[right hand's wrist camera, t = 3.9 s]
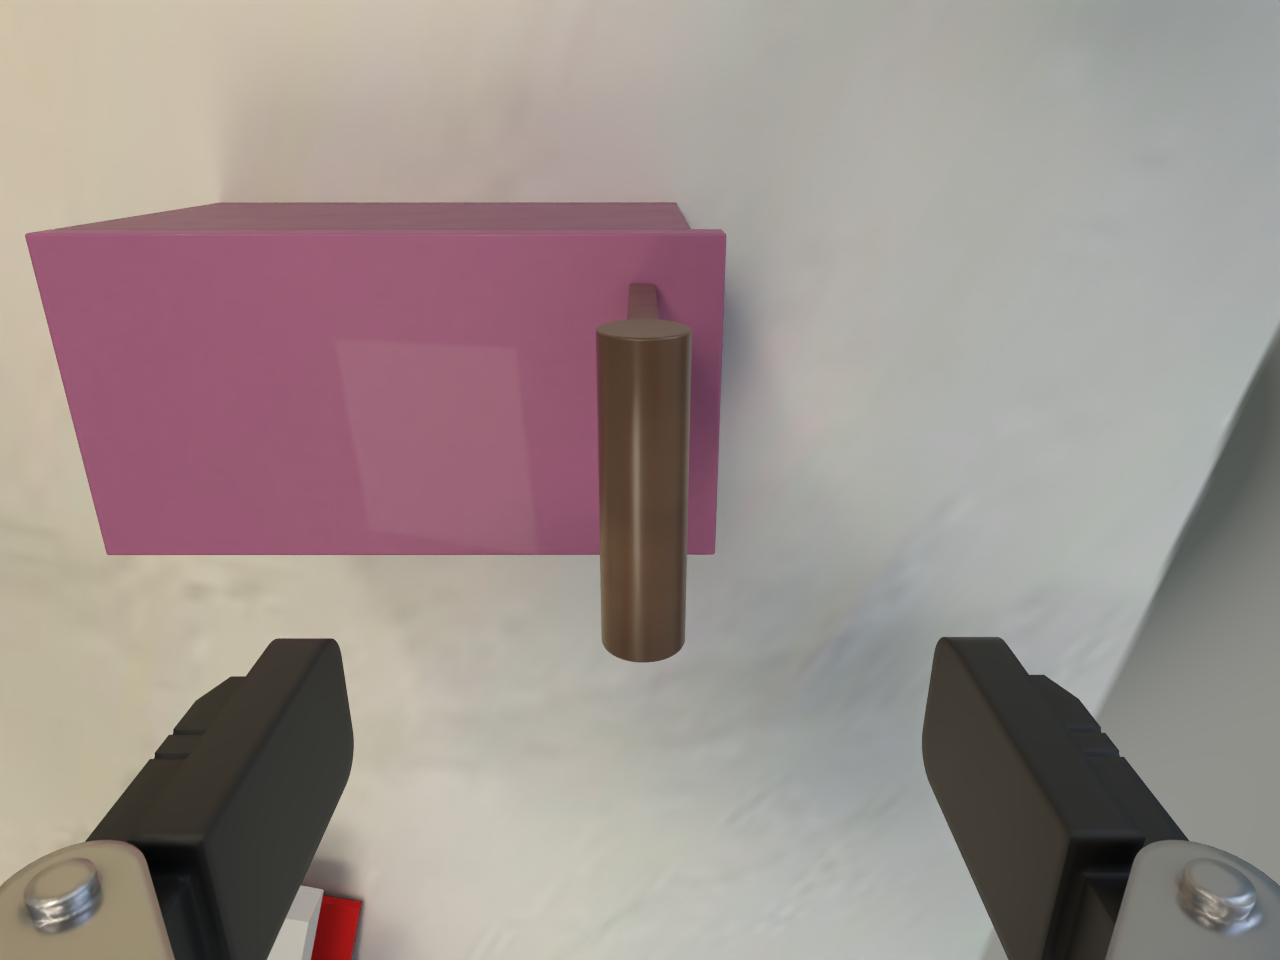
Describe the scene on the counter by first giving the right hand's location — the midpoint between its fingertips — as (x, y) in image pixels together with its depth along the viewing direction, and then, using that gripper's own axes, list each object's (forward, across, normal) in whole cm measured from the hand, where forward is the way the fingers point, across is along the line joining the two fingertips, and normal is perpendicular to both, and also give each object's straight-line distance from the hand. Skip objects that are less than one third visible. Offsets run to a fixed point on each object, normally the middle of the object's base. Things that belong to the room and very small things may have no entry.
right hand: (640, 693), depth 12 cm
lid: (+15, -7, 0) cm, 16 cm away
